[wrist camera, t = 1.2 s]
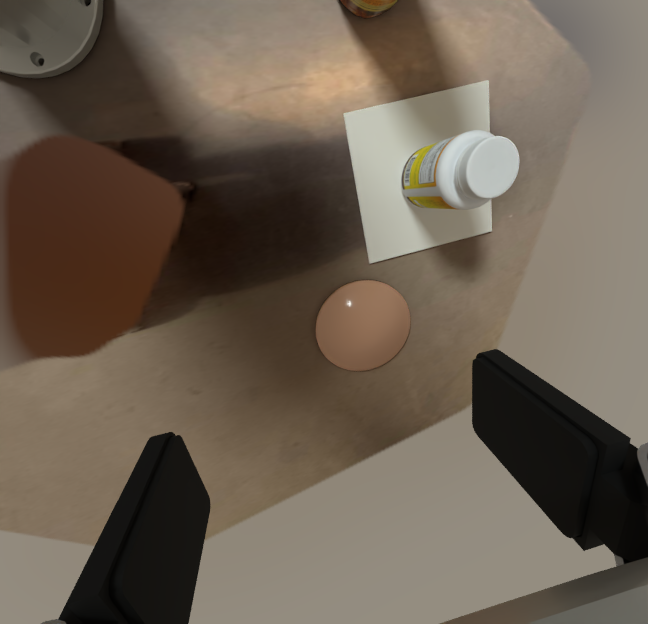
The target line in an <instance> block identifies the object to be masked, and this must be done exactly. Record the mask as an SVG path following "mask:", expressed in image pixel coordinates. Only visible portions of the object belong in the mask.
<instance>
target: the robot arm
mask: <svg viewBox="0 0 648 624" xmlns="http://www.w3.org/2000/svg"><path fill="white" fill-rule="evenodd" d="M89 2H91V4H90V5H89V6H88V3H89ZM102 17H103V0H0V72H2V73H6V74H10V75H14V76H18V77H25V78H45V77H52V76H56V75H59V74H61V73H64V72H66V71H69V70H71V69H72V68H73V67H75V66H76V65H77V64H79V63H80V62H81V61H82V60H83V59H84V58H85V57H86V55H87V54H88V53H89V52H90V50H91V49H92V47H93V45H94V43H95V41H96V39H97V36H98V34H99V31H100V26H101V22H102ZM43 61H44V65H43V64H42V63H43ZM472 424H473V428H474V431H475V433H476V434H477V435H478V437H479V438H480V439H481V440H482V441H483V442H484V444H485V445H486V446H487V447H488V448H489V449H490V451H491V452H492V453H493V454H494V455H495V456H496V457H497V459H498V460H499V461H500V462H501V463H502V464H503V466H505V468H506V469H507V470H508V471H509V472H510V473H511V475H512V476H513V477H514V478H515V479H516V480H517V482H518V483H519V484H520V485H521V486H522V487H523V488H524V490H525V491H526V492H527V493H528V494H529V495H530V497H531V498H532V499H533V500H534V501H535V502H536V504H537V505H538V506H539V507H540V508H541V509H542V510H543V512H544V513H545V514H546V515H547V516H548V517H549V519H550V520H551V521H552V522H553V523H554V524H555V525H556V526H557V528H558V529H559V530H560V531H561V532H562V533H563V534H564V535H565V536H567V537H569V538H573V539H574V540H575V541H576V542H577V543H578V545H579V546H580V547H581V548H582V549H583V550H584V551H585V550H588V549H591V548H594V547H597V546H600V545H603V544H605V545H606V546H607V547H608V548H609V549H610V550H611V551H612V552H613V553H614V556H615V561H616V566H617V567H614V568H610V569H607V570H604V571H600V572H597V573H594V574H591V575H587V576H584V577H581V578H578V579H575V580H572V581H569V582H566V583H562V584H560V585H556V586H553V587H550V588H547V589H544V590H541V591H538V592H535V593H532V594H529V595H526V596H523V597H519V598H517V599H514V600H510V601H507V602H504V603H501V604H498V605H495V606H492V607H489V608H486V609H483V610H480V611H477V612H474V613H471V614H468V615H464V616H461V617H458V618H455V619H452V620H449V621H446V622H444V623H440V624H648V443H646V444H643V445H641V446H640V448H639V449H638V448H636V447H635V446H633V445H632V444H630V438H629V437H628V436H626V435H625V434H623V433H622V432H620V431H619V430H617V429H616V428H614V427H613V426H611V425H610V424H608V423H607V422H605V421H604V420H602V419H601V418H599V417H598V416H596V415H595V414H593V413H592V412H590V411H589V410H587V409H586V408H584V407H583V406H581V405H580V404H578V403H577V402H575V401H574V400H572V399H571V398H570V397H568V396H567V395H565V394H563V393H562V392H561V391H559V390H558V389H556V388H555V387H553V386H552V385H550V384H549V383H547V382H546V381H544V380H543V379H541V378H539V377H538V376H537V375H535V374H534V373H532V372H531V371H529V370H528V369H526V368H525V367H523V366H522V365H520V364H519V363H517V362H516V361H514V360H513V359H511V358H510V357H508V356H507V355H505V354H504V353H503V352H501V351H499V350H497V349H494V350H490V351H486V352H482V353H479V354H477V356H476V359H474V360H473V363H472ZM209 513H210V498H209V495H208V493H207V491H206V489H205V487H204V484H203V482H202V480H201V478H200V476H199V474H198V471H197V469H196V467H195V465H194V463H193V461H192V458H191V456H190V454H189V452H188V450H187V448H186V445H185V443H184V441H183V439H182V437H181V436H180V435H177V436H175V434H174V433H173V432H169V433H165V434H161V435H157V436H153V437H151V438H150V439H149V440H148V442H147V444H146V446H145V448H144V450H143V452H142V454H141V456H140V458H139V460H138V462H137V464H136V466H135V468H134V470H133V472H132V474H131V476H130V478H129V480H128V482H127V484H126V486H125V488H124V490H123V492H122V494H121V496H120V498H119V500H118V501H117V503H116V505H115V507H114V509H113V511H112V513H111V515H110V517H109V519H108V521H107V523H106V525H105V527H104V529H103V531H102V533H101V535H100V537H99V539H98V541H97V543H96V545H95V547H94V549H93V551H92V553H91V555H90V557H89V559H88V561H87V563H86V565H85V567H84V569H83V571H82V573H81V575H80V577H79V579H78V581H77V583H76V585H75V587H74V589H73V591H72V593H71V595H70V597H69V599H68V601H67V603H66V605H65V607H64V609H63V611H62V613H61V615H60V617H59V619H56V620H51V621H46V622H43V623H41V624H188V623H189V617H190V612H191V606H192V602H193V596H194V591H195V586H196V581H197V575H198V570H199V565H200V560H201V554H202V549H203V544H204V539H205V534H206V528H207V523H208V518H209Z"/></svg>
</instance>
